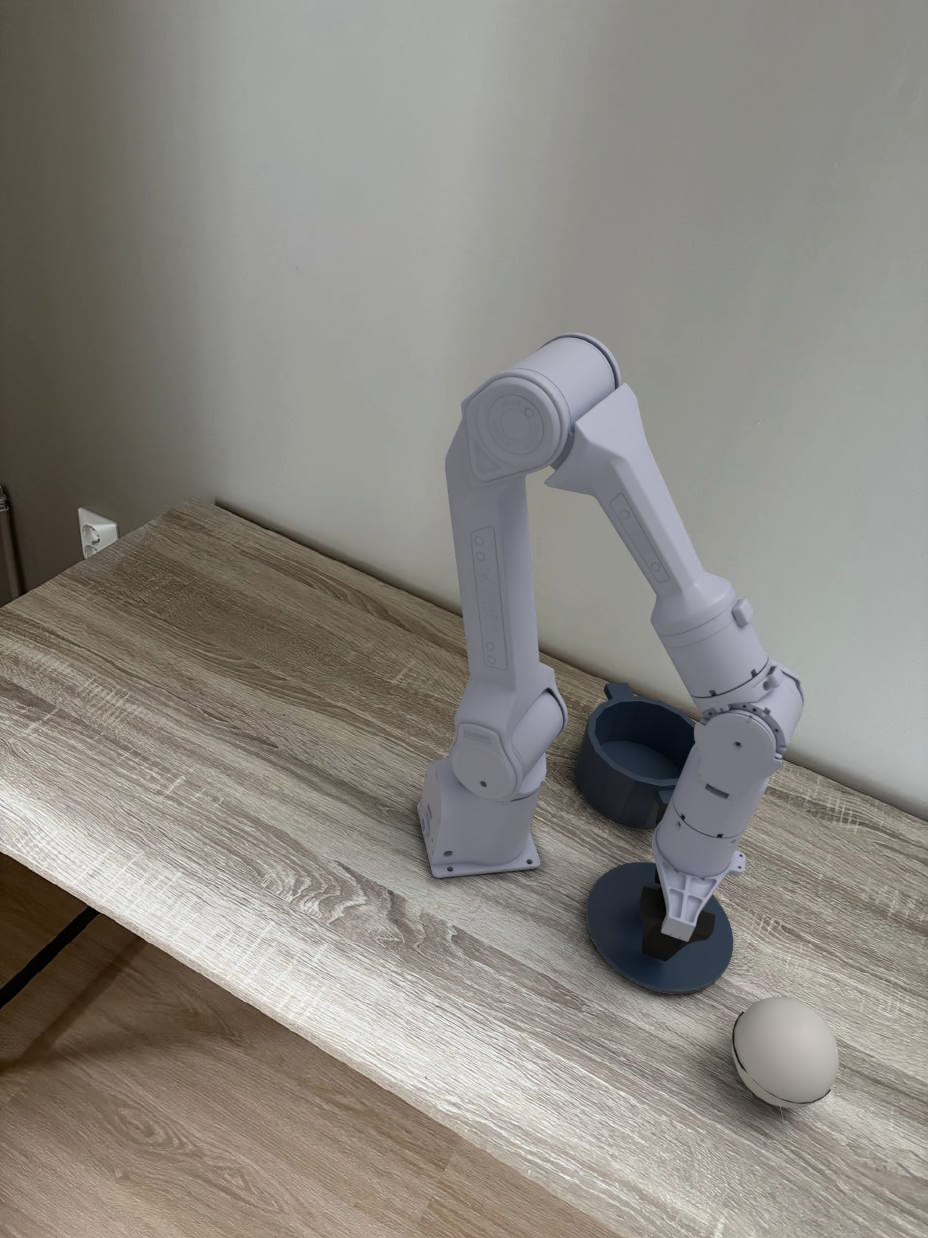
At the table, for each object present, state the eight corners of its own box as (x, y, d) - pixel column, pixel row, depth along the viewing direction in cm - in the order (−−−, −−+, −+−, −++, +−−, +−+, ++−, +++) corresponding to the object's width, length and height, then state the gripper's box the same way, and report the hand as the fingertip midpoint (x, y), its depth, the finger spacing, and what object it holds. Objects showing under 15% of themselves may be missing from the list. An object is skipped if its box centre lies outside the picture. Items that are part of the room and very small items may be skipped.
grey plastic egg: (728, 1012, 76) (760, 959, 71) (823, 1058, 74) (861, 1006, 70) (697, 1128, 68) (730, 1077, 64) (802, 1183, 67) (843, 1133, 62)
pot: (606, 857, 86) (622, 813, 83) (552, 723, 99) (564, 679, 95) (722, 846, 89) (743, 803, 86) (655, 717, 102) (670, 675, 98)
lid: (612, 1008, 75) (627, 973, 72) (565, 876, 84) (577, 841, 81) (754, 988, 78) (774, 954, 75) (694, 863, 87) (709, 829, 84)
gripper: (758, 903, 65) (699, 1012, 74) (770, 758, 77) (717, 867, 85) (656, 868, 66) (608, 979, 75) (681, 730, 78) (638, 840, 86)
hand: (660, 917), depth 80 cm, fingers open, 7 cm apart
